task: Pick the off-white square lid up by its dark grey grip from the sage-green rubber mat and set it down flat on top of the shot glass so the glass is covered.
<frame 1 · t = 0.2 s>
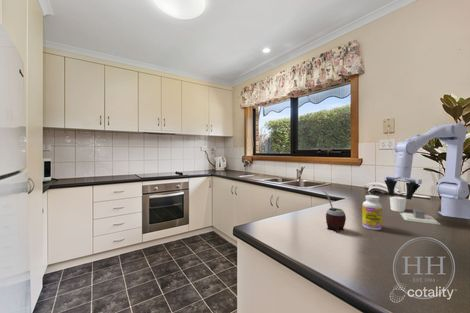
hand: (399, 197, 94), 10 cm above the counter, tool pointing down, fingers open, 7 cm apart
lid: (418, 218, 94), resting on mat
shot glass: (397, 211, 108), on the counter
supplement bottle: (371, 228, 84), on the counter
mate gourd: (334, 229, 82), on the counter
mat: (418, 219, 94), on the counter
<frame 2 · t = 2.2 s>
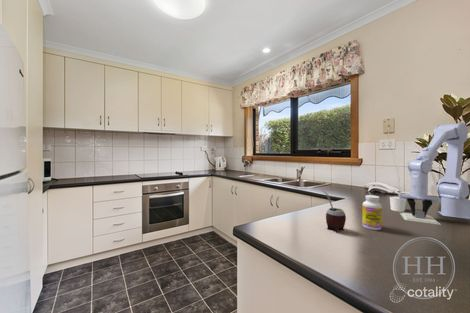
hand: (418, 215, 94), 2 cm above the counter, tool pointing down, fingers closed on lid, 3 cm apart
lid: (418, 218, 94), resting on mat, touching gripper
everything else where it was.
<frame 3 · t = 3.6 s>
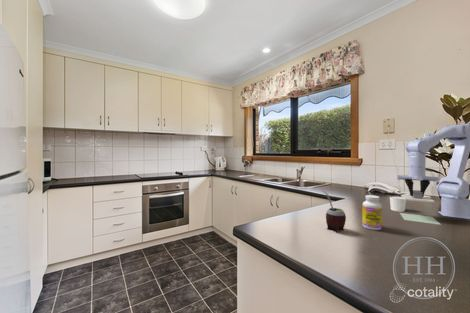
hand: (416, 196, 95), 10 cm above the counter, tool pointing down, fingers closed on lid, 3 cm apart
lid: (416, 198, 95), point 9 cm above the counter, touching gripper
everything else where it was.
when the fingers open (9 cm above the counter, at t = 5.3 s): lid stays where it is, resting on shot glass.
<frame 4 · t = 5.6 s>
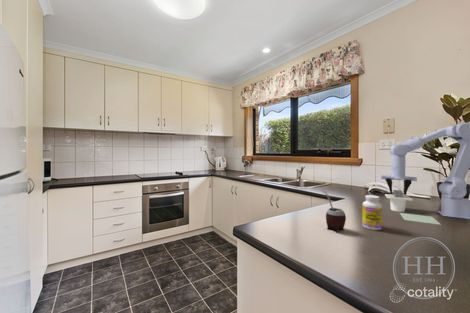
hand: (397, 193, 107), 9 cm above the counter, tool pointing down, fingers open, 5 cm apart
lid: (397, 197, 107), point 7 cm above the counter, touching shot glass
shot glass: (397, 211, 108), on the counter, touching lid
everything else where it was.
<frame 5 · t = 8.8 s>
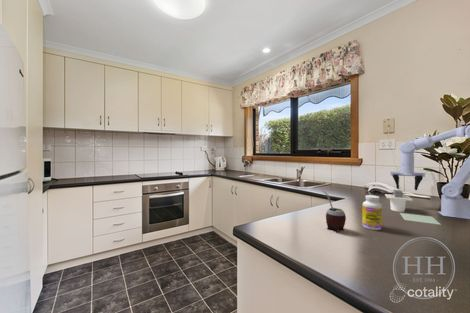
hand: (406, 189, 113), 10 cm above the counter, tool pointing down, fingers open, 7 cm apart
nothing on the counter moved.
at the end: lid 0.2 cm off-centre on the shot glass, point 7.2 cm above the shot glass's base; lid tilted 0°; shot glass tilted 0° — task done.
